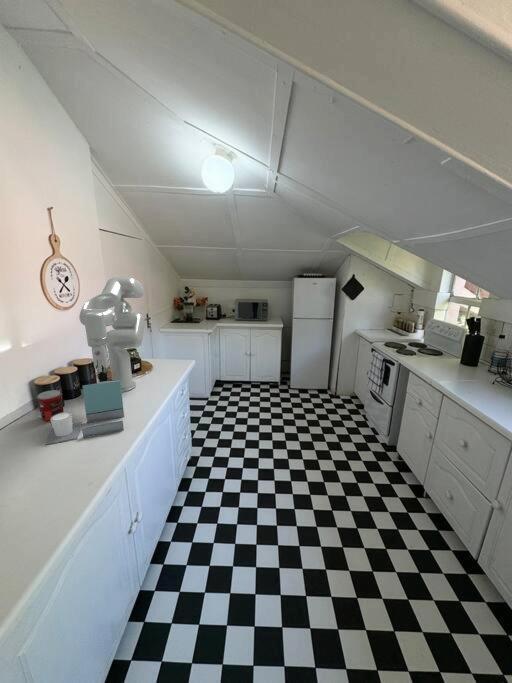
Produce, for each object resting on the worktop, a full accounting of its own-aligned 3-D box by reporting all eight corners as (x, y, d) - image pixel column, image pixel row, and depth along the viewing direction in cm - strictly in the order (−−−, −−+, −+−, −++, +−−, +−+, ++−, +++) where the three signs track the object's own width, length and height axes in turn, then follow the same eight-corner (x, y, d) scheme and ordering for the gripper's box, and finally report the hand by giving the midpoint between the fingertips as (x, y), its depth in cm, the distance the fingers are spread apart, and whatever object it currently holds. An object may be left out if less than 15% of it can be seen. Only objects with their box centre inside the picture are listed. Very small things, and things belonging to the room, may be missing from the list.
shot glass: (64, 438, 107) (61, 421, 105) (48, 436, 108) (45, 419, 106) (78, 428, 114) (75, 412, 112) (63, 426, 115) (60, 410, 113)
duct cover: (86, 414, 117) (86, 413, 118) (123, 408, 123) (123, 407, 124) (82, 385, 116) (82, 385, 117) (120, 380, 122) (120, 380, 122)
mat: (53, 428, 114) (53, 427, 114) (82, 423, 118) (81, 422, 118) (45, 445, 104) (45, 444, 104) (77, 439, 108) (77, 437, 107)
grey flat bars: (87, 422, 119) (86, 414, 118) (124, 415, 124) (123, 407, 123) (83, 437, 108) (81, 429, 107) (123, 430, 114) (122, 421, 113)
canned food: (45, 414, 125) (40, 391, 122) (66, 411, 127) (62, 388, 124) (39, 423, 118) (34, 399, 115) (62, 420, 120) (57, 396, 118)
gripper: (106, 345, 116) (111, 386, 121) (108, 336, 129) (113, 373, 134) (85, 346, 113) (91, 389, 118) (89, 337, 126) (95, 376, 131)
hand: (103, 380), depth 126 cm, fingers closed
